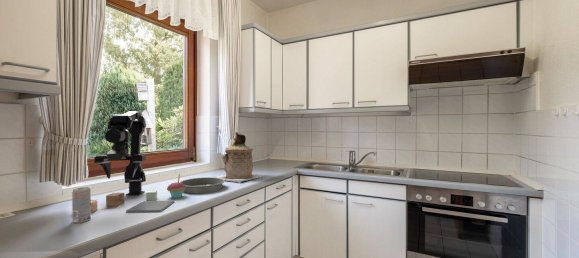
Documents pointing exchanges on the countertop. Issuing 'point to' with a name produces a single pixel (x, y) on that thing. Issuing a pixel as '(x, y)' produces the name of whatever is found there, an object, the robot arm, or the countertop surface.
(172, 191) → the cupcake
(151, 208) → the slate trivet
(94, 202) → the light brown block
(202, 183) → the cake pan
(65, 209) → the countertop surface
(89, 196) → the energy drink
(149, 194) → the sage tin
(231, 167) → the cookie jar
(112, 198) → the walnut cube
